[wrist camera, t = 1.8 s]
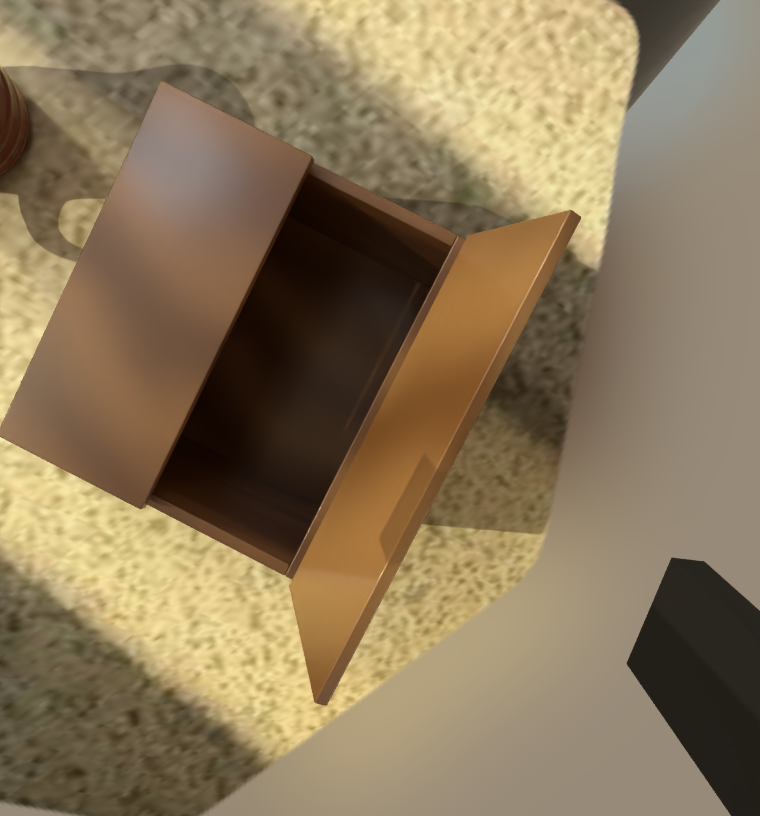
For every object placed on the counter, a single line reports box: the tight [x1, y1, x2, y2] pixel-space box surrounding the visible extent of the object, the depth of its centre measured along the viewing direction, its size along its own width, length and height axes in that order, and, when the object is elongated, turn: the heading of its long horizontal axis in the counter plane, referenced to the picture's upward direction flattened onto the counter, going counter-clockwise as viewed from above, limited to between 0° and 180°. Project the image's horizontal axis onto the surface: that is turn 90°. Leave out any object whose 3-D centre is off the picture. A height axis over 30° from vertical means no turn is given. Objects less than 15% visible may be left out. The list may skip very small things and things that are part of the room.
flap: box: [289, 210, 581, 706], centre depth 17 cm, size 15×6×1 cm
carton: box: [0, 81, 466, 579], centre depth 26 cm, size 15×13×11 cm
